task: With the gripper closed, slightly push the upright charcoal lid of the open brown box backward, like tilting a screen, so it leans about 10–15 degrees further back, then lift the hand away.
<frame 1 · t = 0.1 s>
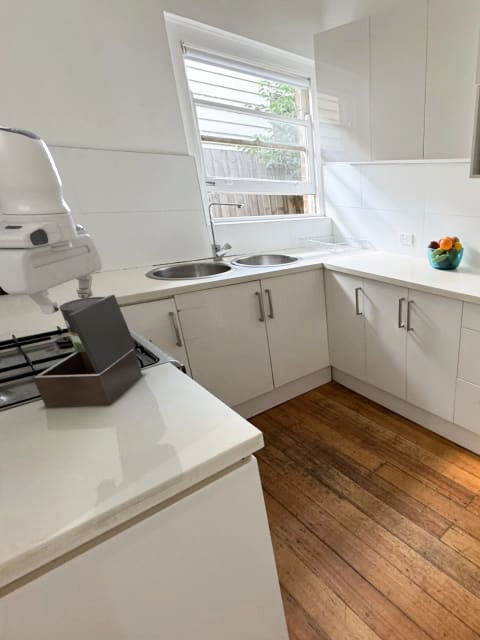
hand: (69, 304, 73), 20 cm above the worktop, tool pointing down, fingers open, 8 cm apart
coffee can: (105, 356, 96), on the worktop
screen lid: (105, 332, 77), point 13 cm above the worktop, hinge at 84.0°
open brown box: (97, 390, 82), on the worktop
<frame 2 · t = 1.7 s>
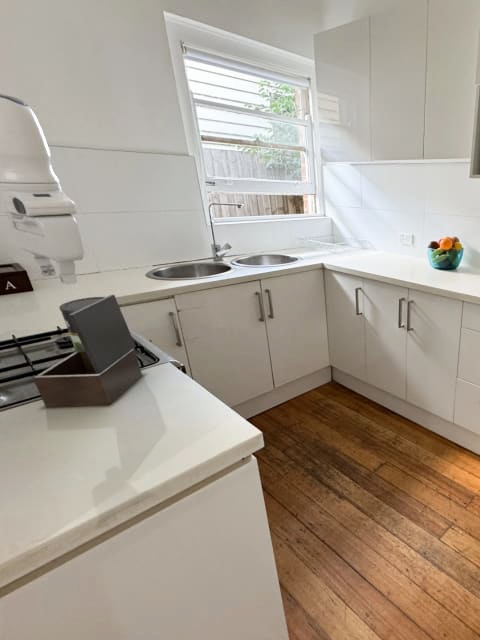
hand: (59, 279, 71), 25 cm above the worktop, tool pointing down, fingers open, 8 cm apart
nothing on the worktop moved.
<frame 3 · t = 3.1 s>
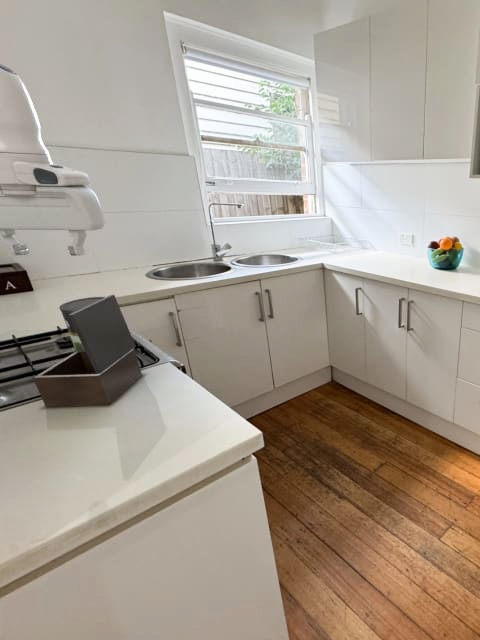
hand: (49, 254, 70), 29 cm above the worktop, tool pointing down, fingers open, 8 cm apart
nothing on the worktop moved.
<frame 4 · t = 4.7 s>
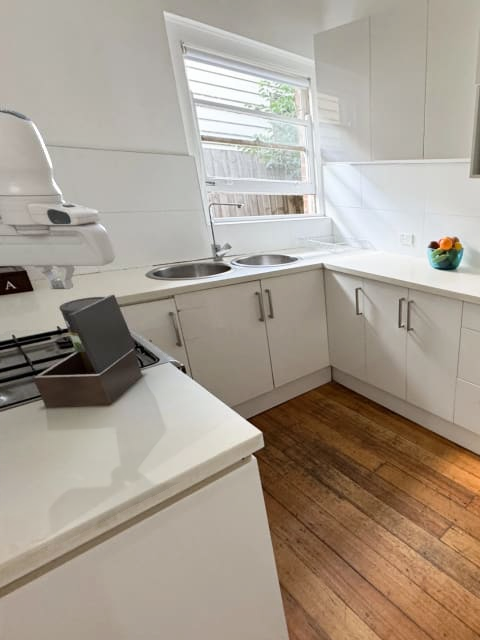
hand: (62, 288, 73), 23 cm above the worktop, tool pointing down, fingers closed
nothing on the worktop moved.
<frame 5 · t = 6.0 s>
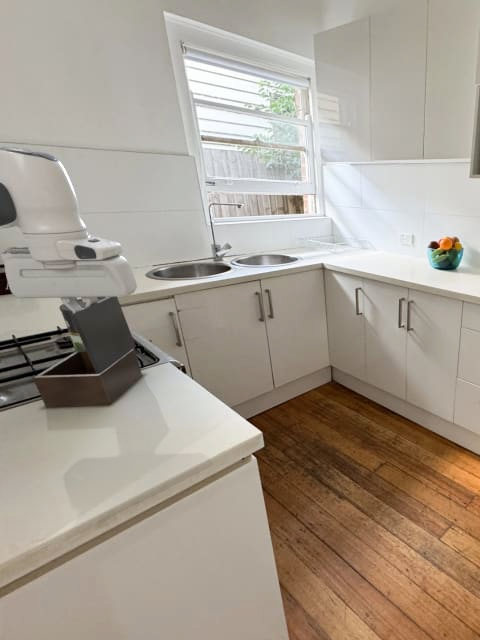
hand: (86, 317, 75), 17 cm above the worktop, tool pointing down, fingers closed
screen lid: (106, 332, 77), point 13 cm above the worktop, hinge at 85.9°, touching gripper
everything else where it was.
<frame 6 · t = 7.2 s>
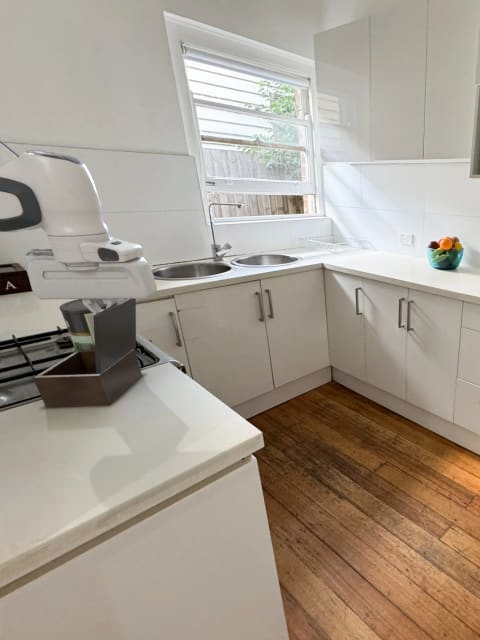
hand: (106, 319, 76), 16 cm above the worktop, tool pointing down, fingers closed
screen lid: (116, 332, 77), point 13 cm above the worktop, hinge at 103.5°, touching gripper
everything else where it was.
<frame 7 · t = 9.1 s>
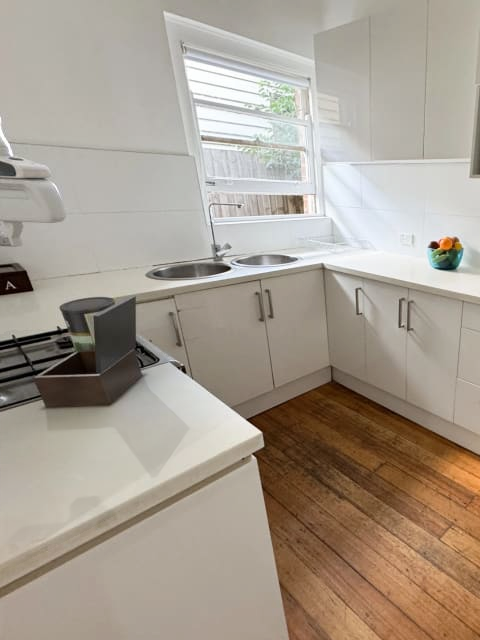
hand: (10, 246, 71), 30 cm above the worktop, tool pointing down, fingers closed
screen lid: (116, 332, 77), point 13 cm above the worktop, hinge at 103.5°
everything else where it was.
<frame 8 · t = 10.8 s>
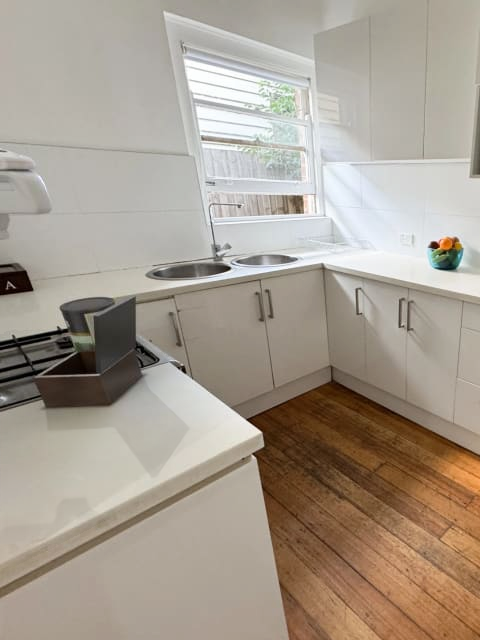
nothing on the worktop moved.
at the end: screen lid at +104° (first picture: +84°) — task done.
